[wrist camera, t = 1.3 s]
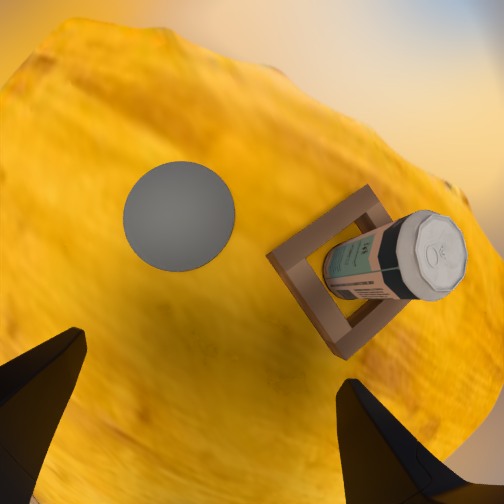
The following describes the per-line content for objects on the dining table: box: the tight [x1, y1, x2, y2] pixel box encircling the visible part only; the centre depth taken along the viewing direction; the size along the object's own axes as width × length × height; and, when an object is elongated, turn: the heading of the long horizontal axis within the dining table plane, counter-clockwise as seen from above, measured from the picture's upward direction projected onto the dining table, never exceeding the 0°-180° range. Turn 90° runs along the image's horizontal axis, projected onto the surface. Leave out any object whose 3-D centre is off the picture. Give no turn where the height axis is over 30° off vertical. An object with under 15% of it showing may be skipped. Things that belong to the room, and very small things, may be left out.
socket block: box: [266, 184, 412, 360], centre depth 23 cm, size 10×10×2 cm
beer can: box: [323, 210, 468, 301], centre depth 18 cm, size 5×5×12 cm
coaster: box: [123, 161, 235, 272], centre depth 23 cm, size 9×9×1 cm
